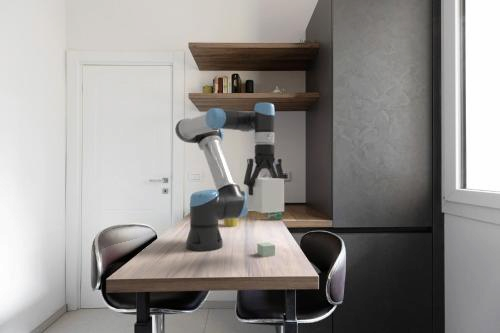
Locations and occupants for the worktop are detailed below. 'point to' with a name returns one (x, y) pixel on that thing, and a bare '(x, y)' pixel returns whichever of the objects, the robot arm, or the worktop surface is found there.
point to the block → (266, 249)
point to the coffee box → (274, 215)
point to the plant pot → (231, 222)
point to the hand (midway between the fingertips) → (264, 203)
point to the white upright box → (267, 195)
